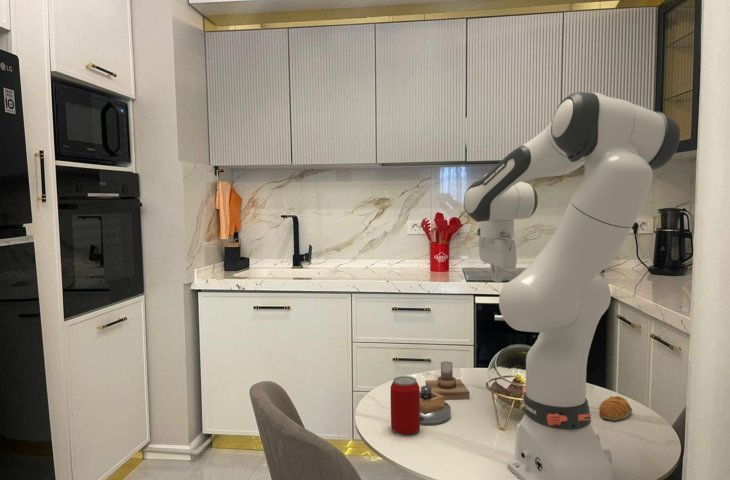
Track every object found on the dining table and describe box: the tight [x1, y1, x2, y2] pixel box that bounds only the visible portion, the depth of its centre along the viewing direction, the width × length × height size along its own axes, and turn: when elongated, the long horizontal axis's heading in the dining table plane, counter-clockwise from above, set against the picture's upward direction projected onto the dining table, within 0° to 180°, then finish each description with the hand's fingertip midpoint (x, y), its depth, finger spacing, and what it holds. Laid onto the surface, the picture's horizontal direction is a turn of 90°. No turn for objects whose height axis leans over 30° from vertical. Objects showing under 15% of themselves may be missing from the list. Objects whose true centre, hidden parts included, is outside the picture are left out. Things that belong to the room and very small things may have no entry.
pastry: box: [598, 395, 633, 422], centre depth 123 cm, size 9×7×4 cm
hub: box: [420, 385, 452, 426], centre depth 125 cm, size 12×12×7 cm
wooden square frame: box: [420, 390, 446, 415], centre depth 125 cm, size 6×6×3 cm
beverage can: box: [390, 375, 421, 436], centre depth 116 cm, size 7×7×12 cm
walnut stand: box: [425, 360, 470, 401], centre depth 139 cm, size 10×10×8 cm
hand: (497, 281), depth 138 cm, fingers closed
